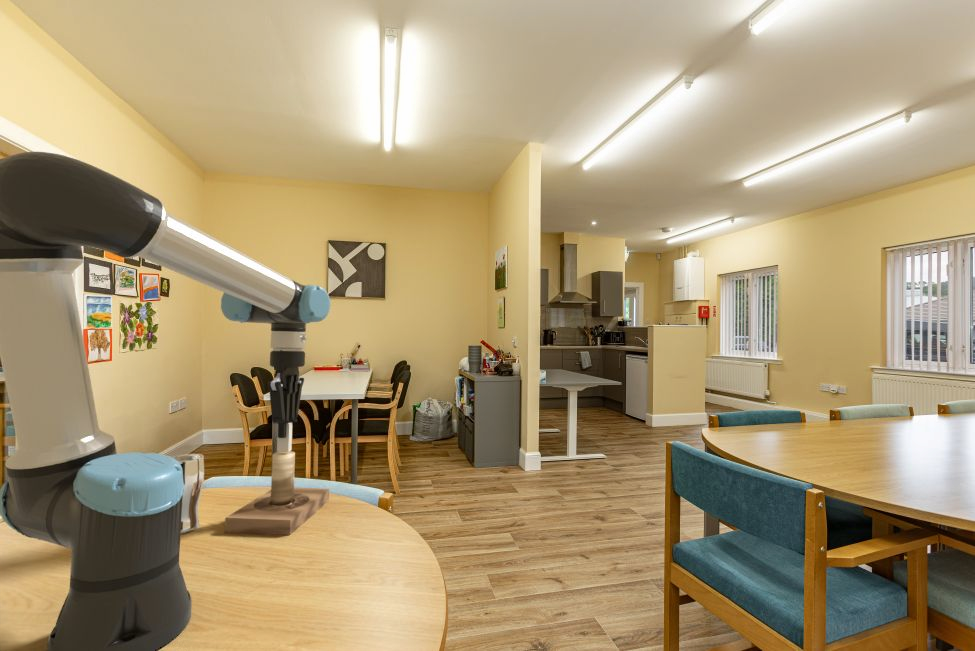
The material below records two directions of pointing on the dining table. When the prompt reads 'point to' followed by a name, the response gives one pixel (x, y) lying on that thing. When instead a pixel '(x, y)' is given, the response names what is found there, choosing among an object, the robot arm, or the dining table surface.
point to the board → (277, 513)
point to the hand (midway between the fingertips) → (284, 450)
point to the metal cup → (191, 489)
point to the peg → (282, 478)
